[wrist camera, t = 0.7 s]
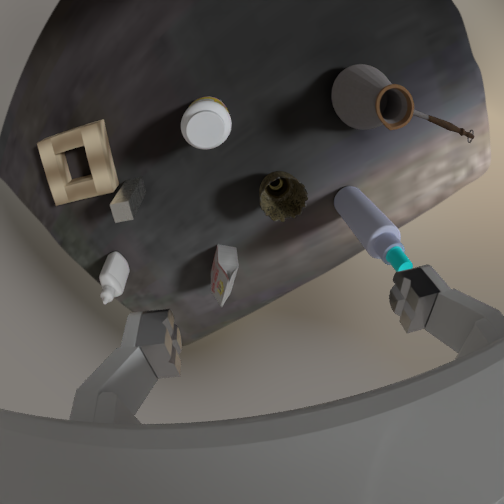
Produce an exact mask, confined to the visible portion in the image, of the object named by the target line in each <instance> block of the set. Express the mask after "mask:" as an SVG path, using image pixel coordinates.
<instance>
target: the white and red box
mask: <svg viewBox="0 0 504 504" xmlns="http://www.w3.org/2000/svg"><path fill="white" fill-rule="evenodd" d="M238 267H239V264H238V257H237V249H236V247H230V246H224V245H218V244H217V248H216V252H215V256H214V260H213V265H212V269H211V292H212V294H213V295H214V297H215V298H216V300H217V301H218V303H219V305H220V307H221V306H222V307H223V304H224V302H225V301H226V299H227V298H228V296H229V295H230V293H231V290H232V287H233V283H234V280H235V277H236V273H237V270H238Z"/></svg>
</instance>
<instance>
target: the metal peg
mask: <svg viewBox="0 0 504 504" xmlns="http://www.w3.org/2000/svg"><path fill="white" fill-rule="evenodd" d="M145 193H146V191H145V187H144V183H143V178H142V177H139V178H134V179H129V180H126V181H125V182H124V184H123V185H122V187H121V188H120V190H119V191H118V193H117V194H116V196H115V197H114V199H113V200H112V202H111V203H110V207H111V211H112V214H113V217H114V220H115V223H116V222H122V221H127V220H133V219H134V217H135V215H136V213H137V211H138V208H139V206H140V204H141V202H142V200H143V198H144V196H145Z"/></svg>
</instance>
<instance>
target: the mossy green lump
mask: <svg viewBox="0 0 504 504" xmlns="http://www.w3.org/2000/svg"><path fill="white" fill-rule="evenodd" d="M276 179H279V181H280V182H279V185H277V186H272V185H271V184H270V183H271V182H273V181H275V180H276ZM307 194H308V193H307V191H306V189H305V186H304V185H303V184H302V183H301V182H300V181H298V180H297V179H296V178H295V177H293V176H292V175H291V174H289V173H286V172H282V171H276V172H272V173H270V174H268V175H267V176H266V177H265V178H264V179H263V181H262V182H261V185H260V190H259V196H260V206H261V209H262V210H263V211H264V213H265V215H266V216H269V217H270V218H271V219H272V220H273V221H281V222H284V221H285V218H290V217H292V218H296V215H297V216H300V215H301V214H302V211H303V207H304V208H305V207H306V203H305V201H307V200H308V197H307Z"/></svg>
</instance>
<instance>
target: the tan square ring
mask: <svg viewBox="0 0 504 504" xmlns="http://www.w3.org/2000/svg"><path fill="white" fill-rule="evenodd" d="M37 145H38V149H39V153H40V156H41V160H42V163H43V167H44V170H45V174H46V177H47V180H48V183H49V186H50V189H51V192H52V195H53V198H54V201H55V204H56V206H57V205H61V204H65V203H69V202H73V201H77V200H81V199H85V198H90V197H94V196H98V195H103V194H107V193H112V192H114V191H115V189H116V188H117V187H118V185H119V182H118V178H117V175H116V171H115V167H114V163H113V159H112V154H111V150H110V146H109V141H108V137H107V132H106V128H105V123H104V119H103V120H99V121H96V122H93V123H89V124H86V125H83V126H80V127H76V128H73V129H70V130H67V131H64V132H62V133H59V134H56V135H53V136H50V137H48V138H45V139H44V140H42V141H40V142H38V143H37ZM81 146H84V147H85V151H86V155H87V159H88V162H89V166H90V170H91V173H92V174H91V175H87V176H83V177H79V178H75V179H72V178H71V175H70V172H69V168H68V165H67V161H66V157H65V154H64V152H65V151H68V150H71V149H74V148H77V147H81Z"/></svg>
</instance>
